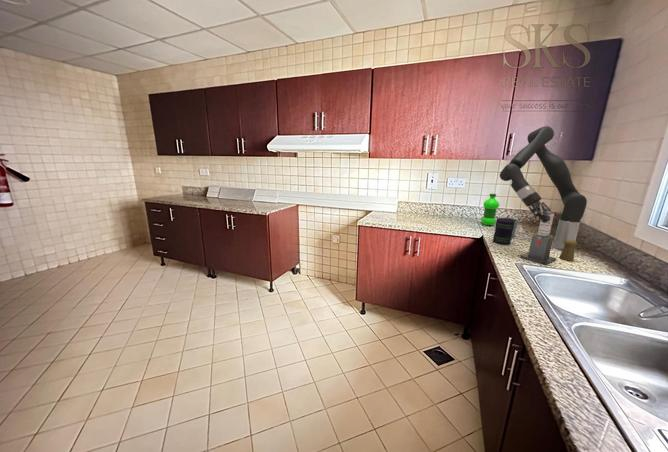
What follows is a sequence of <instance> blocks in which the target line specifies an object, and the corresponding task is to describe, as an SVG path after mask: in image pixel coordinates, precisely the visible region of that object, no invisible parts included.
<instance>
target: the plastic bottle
mask: <svg viewBox="0 0 668 452" xmlns="http://www.w3.org/2000/svg"><path fill="white" fill-rule="evenodd" d="M496 197H497V193H489V198H488V199H485V201H484V202H483V207H484V210H483V211H484V213H483V217H482V218H481V221H480V222H481V223H482V224H483V225H484V226H486V225H492V226H494V224H495V225H496V221H497V218H496V214H497V209H499V207H500V202H499V201H498V200H497V199H496Z"/></svg>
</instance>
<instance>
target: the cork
mask: <svg viewBox="0 0 668 452" xmlns="http://www.w3.org/2000/svg"><path fill="white" fill-rule="evenodd" d="M564 245H565V246H564V248H563V250H561V252H560V254H559V256H558V259H559V260H561V261H564V262H572V263H573V262H574V260H575V249H576V248H575V247H577V245H578V242H577V241H576V240H570V239H567V240H565V241H564Z"/></svg>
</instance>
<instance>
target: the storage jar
mask: <svg viewBox="0 0 668 452" xmlns="http://www.w3.org/2000/svg"><path fill="white" fill-rule="evenodd" d="M505 218H506V217H500V218H496V222H495V227H494V228H495V229H494V233H493V237H492V242H493V243H494V244H497V245H501V246H509V245H511V242H512V239H513V238H512V231H513V229H514V223H515V221H514V220H511V219H505Z"/></svg>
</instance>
